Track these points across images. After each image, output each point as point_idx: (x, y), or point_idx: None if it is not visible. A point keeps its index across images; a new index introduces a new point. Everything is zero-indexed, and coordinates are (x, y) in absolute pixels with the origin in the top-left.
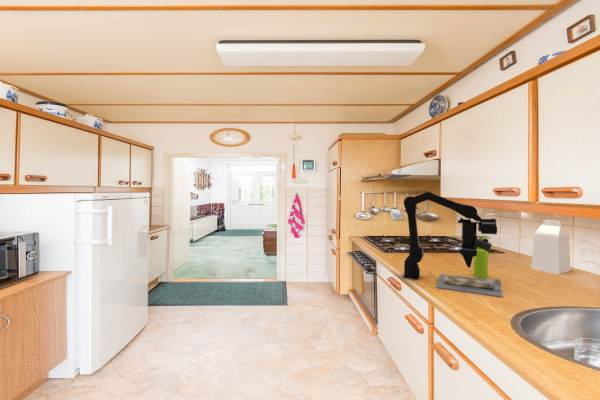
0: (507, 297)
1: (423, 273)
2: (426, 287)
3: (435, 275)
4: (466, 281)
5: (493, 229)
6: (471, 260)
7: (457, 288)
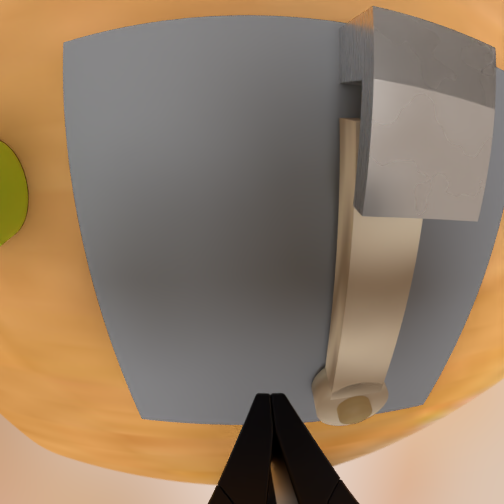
0: (499, 46)
1: (176, 456)
2: (415, 422)
3: (175, 428)
4: (400, 317)
5: None
6: (348, 490)
7: (441, 332)
